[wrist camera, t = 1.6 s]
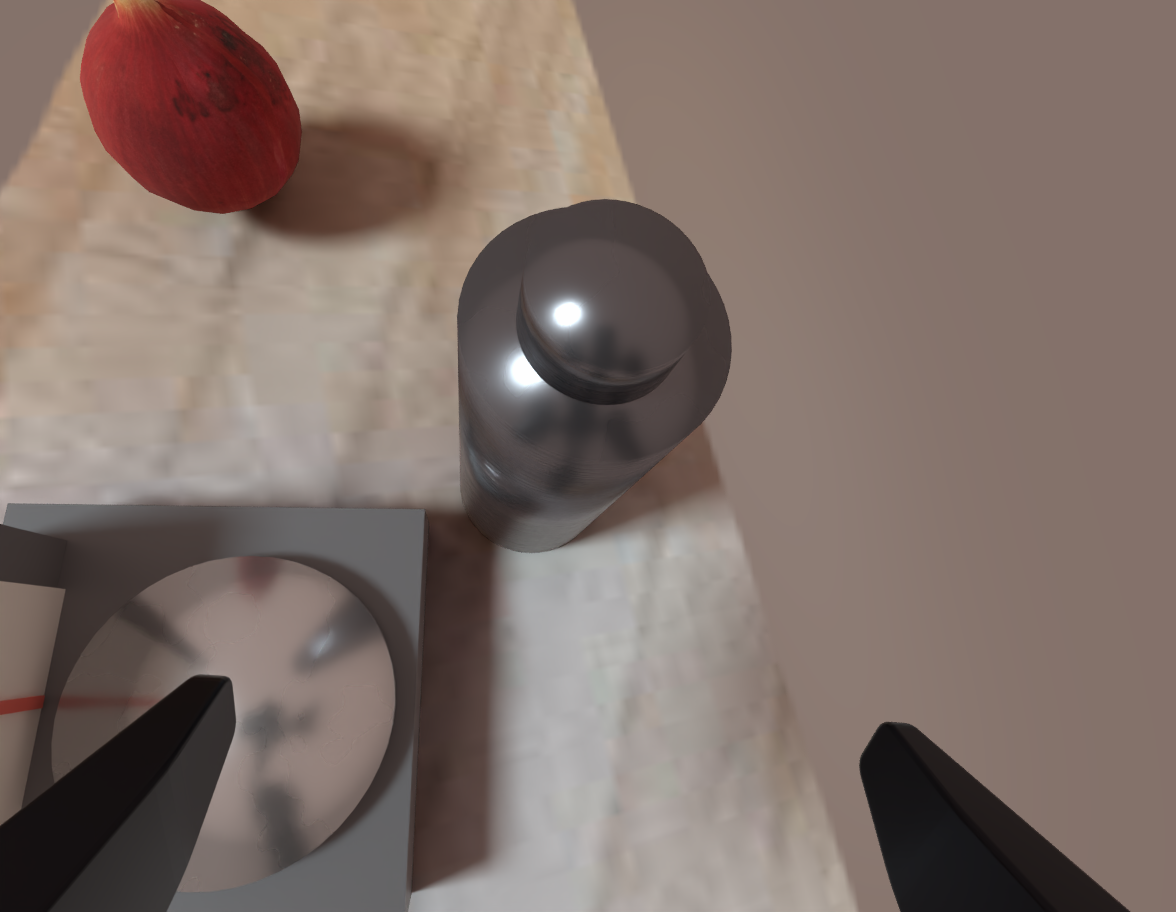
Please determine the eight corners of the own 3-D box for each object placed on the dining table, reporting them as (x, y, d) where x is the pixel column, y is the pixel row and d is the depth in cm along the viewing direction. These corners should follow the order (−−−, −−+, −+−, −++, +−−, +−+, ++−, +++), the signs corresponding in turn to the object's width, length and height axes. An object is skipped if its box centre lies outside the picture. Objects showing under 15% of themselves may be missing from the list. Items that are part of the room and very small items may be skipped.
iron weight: (601, 553, 22) (784, 439, 10) (457, 552, 21) (449, 426, 9) (597, 420, 24) (753, 167, 11) (462, 414, 23) (462, 130, 10)
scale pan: (386, 867, 16) (383, 875, 16) (33, 899, 15) (17, 909, 14) (404, 558, 18) (402, 555, 18) (99, 558, 17) (86, 555, 16)
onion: (325, 135, 25) (264, -85, 17) (317, 263, 23) (246, 82, 16) (161, 121, 24) (20, -121, 16) (142, 254, 22) (-25, 55, 15)
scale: (411, 893, 18) (382, 1037, 12) (-25, 936, 16) (-356, 1139, 10) (428, 523, 21) (413, 472, 15) (63, 519, 19) (-145, 458, 13)
